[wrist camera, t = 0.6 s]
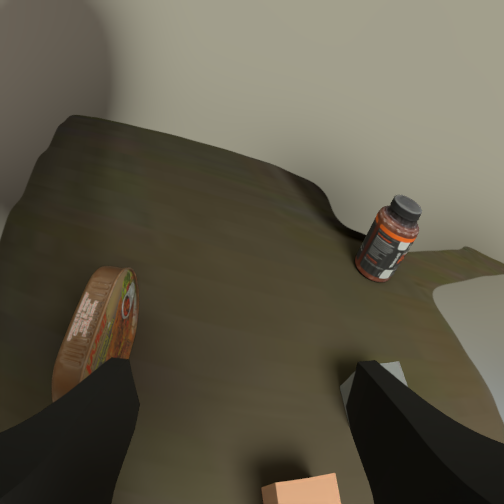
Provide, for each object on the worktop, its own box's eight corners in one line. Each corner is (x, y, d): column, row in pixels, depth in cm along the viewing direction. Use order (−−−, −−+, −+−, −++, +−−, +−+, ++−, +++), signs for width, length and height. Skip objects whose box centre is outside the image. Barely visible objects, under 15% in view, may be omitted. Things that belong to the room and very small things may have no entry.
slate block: (387, 420, 26) (412, 402, 23) (349, 427, 25) (372, 411, 22) (376, 382, 30) (398, 361, 27) (339, 386, 29) (359, 366, 26)
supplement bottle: (390, 290, 40) (432, 225, 33) (352, 275, 41) (388, 206, 33) (389, 262, 45) (425, 201, 37) (354, 248, 45) (386, 183, 38)
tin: (107, 449, 20) (78, 421, 14) (73, 438, 20) (34, 405, 14) (143, 308, 31) (138, 248, 26) (115, 302, 31) (104, 241, 25)
